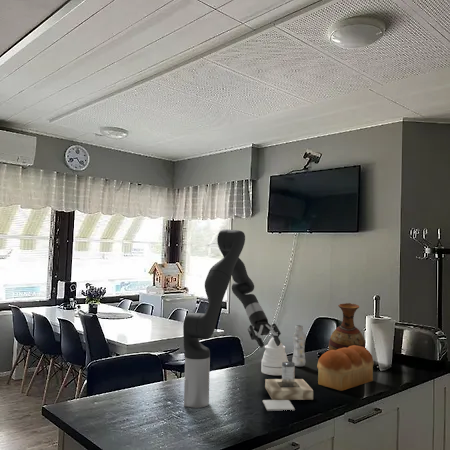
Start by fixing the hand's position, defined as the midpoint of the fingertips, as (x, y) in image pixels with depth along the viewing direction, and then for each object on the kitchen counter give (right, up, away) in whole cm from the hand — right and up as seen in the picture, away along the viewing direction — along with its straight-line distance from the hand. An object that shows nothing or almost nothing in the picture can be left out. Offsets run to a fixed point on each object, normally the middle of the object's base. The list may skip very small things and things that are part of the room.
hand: (270, 345), depth 197 cm
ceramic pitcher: (+46, -21, +50) cm, 71 cm away
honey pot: (+4, -18, +22) cm, 29 cm away
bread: (+34, -18, +5) cm, 38 cm away
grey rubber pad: (0, -15, -27) cm, 31 cm away
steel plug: (+6, -16, -12) cm, 21 cm away
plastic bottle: (+17, -19, +33) cm, 42 cm away
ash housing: (+6, -16, -12) cm, 21 cm away
